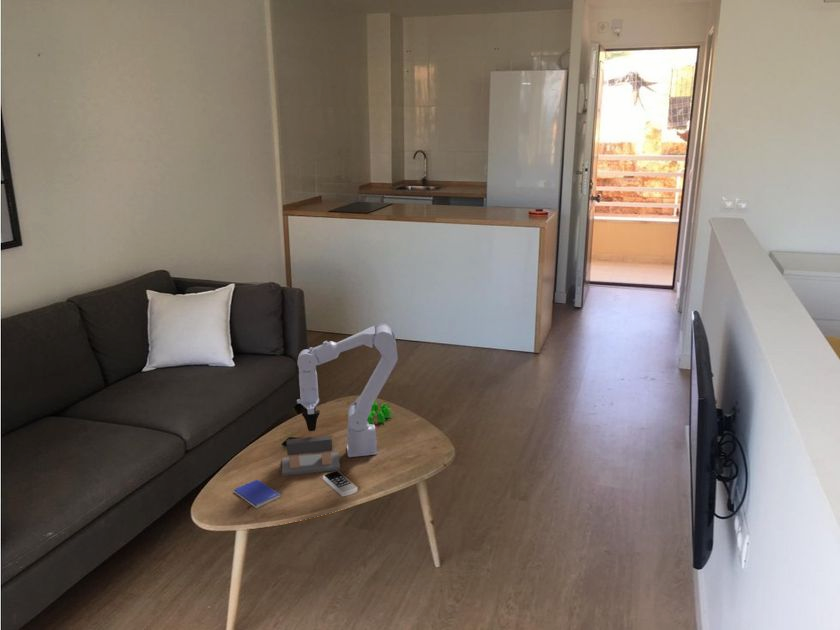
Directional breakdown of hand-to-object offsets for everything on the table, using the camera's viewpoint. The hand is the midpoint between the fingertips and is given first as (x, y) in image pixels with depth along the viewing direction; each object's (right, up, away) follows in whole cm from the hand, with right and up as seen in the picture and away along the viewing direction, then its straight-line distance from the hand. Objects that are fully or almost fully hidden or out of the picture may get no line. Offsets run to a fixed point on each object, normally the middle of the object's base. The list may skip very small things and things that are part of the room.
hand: (311, 425), depth 216 cm
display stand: (+1, -12, -4) cm, 13 cm away
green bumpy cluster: (+18, -2, +29) cm, 34 cm away
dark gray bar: (0, -7, -5) cm, 9 cm away
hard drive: (-13, -18, -20) cm, 30 cm away
